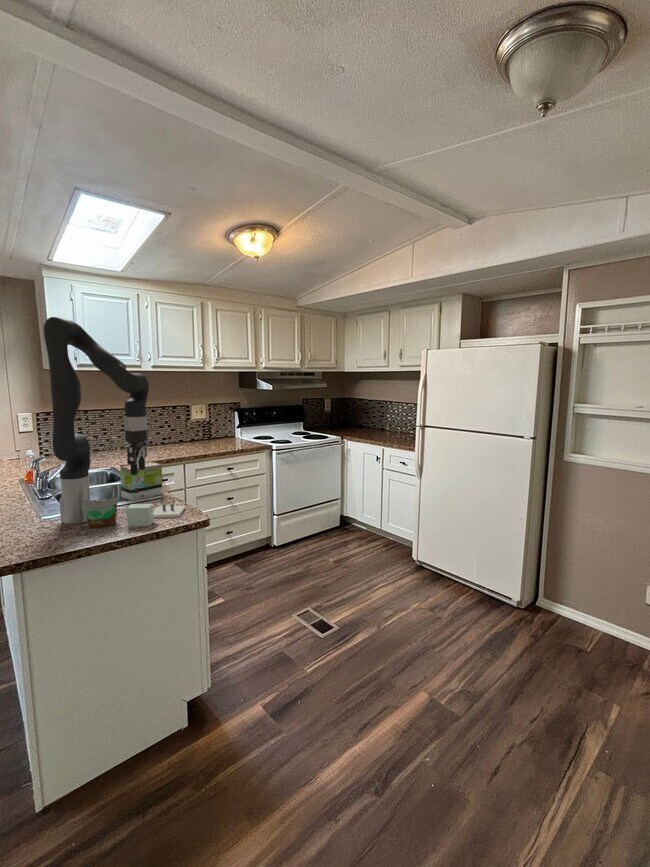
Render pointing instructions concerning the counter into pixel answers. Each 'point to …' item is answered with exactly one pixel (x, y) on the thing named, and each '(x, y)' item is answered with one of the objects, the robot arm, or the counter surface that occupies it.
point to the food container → (101, 512)
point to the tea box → (141, 481)
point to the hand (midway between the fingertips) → (138, 472)
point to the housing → (140, 515)
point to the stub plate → (168, 511)
